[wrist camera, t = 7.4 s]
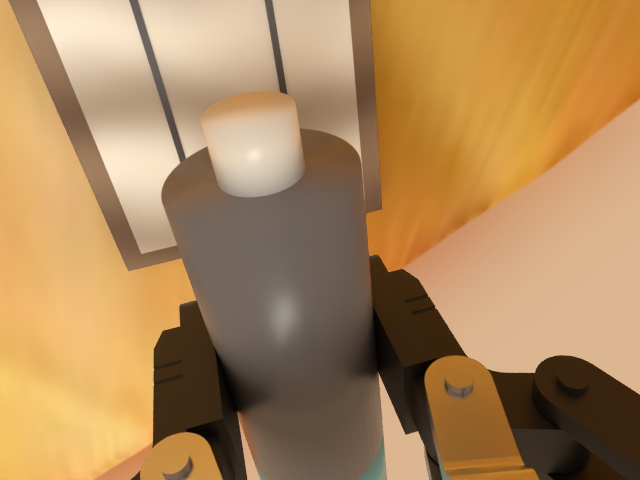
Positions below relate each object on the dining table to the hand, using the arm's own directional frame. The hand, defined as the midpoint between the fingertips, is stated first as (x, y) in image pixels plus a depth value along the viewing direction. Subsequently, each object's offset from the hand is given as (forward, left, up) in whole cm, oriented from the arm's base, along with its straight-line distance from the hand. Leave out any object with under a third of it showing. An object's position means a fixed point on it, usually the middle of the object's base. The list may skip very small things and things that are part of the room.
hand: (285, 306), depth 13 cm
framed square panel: (0, 0, -15) cm, 15 cm away
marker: (0, 0, 0) cm, 1 cm away
